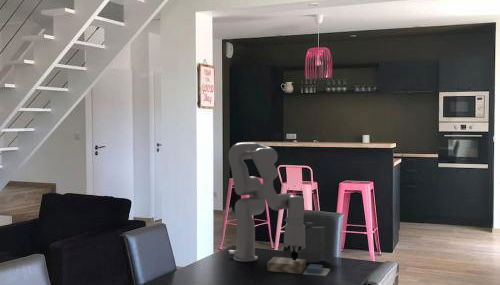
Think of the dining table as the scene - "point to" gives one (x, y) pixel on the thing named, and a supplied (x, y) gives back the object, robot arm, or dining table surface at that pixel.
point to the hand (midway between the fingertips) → (294, 259)
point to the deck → (286, 265)
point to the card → (314, 268)
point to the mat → (322, 273)
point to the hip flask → (313, 244)
